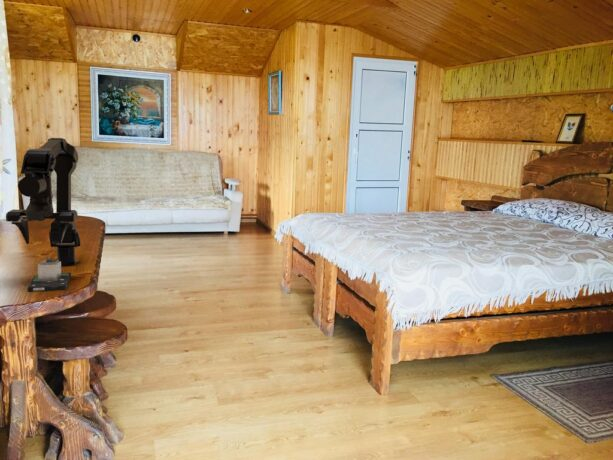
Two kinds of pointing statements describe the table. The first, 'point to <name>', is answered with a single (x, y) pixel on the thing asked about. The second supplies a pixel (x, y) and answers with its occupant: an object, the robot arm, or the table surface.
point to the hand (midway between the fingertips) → (44, 243)
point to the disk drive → (49, 284)
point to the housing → (49, 270)
